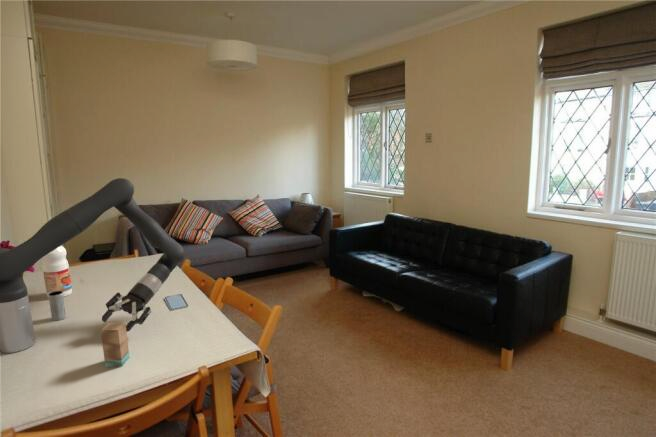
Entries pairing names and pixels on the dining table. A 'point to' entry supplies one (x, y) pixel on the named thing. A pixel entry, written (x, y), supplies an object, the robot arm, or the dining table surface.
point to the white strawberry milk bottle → (57, 272)
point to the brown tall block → (115, 344)
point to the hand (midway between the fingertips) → (113, 325)
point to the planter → (57, 305)
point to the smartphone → (176, 302)
